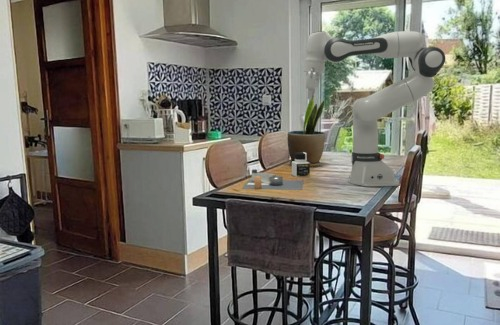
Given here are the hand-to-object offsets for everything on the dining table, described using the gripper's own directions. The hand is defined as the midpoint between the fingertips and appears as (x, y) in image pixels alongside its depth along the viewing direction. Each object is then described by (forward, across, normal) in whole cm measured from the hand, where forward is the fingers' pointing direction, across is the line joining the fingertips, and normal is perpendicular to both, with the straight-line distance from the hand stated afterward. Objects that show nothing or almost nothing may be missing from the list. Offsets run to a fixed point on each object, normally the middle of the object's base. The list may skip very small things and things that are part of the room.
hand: (310, 99), depth 196 cm
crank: (+39, -11, +15) cm, 43 cm away
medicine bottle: (+39, +15, +2) cm, 42 cm away
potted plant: (+39, +47, +2) cm, 61 cm away
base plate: (+40, -13, +10) cm, 43 cm away
